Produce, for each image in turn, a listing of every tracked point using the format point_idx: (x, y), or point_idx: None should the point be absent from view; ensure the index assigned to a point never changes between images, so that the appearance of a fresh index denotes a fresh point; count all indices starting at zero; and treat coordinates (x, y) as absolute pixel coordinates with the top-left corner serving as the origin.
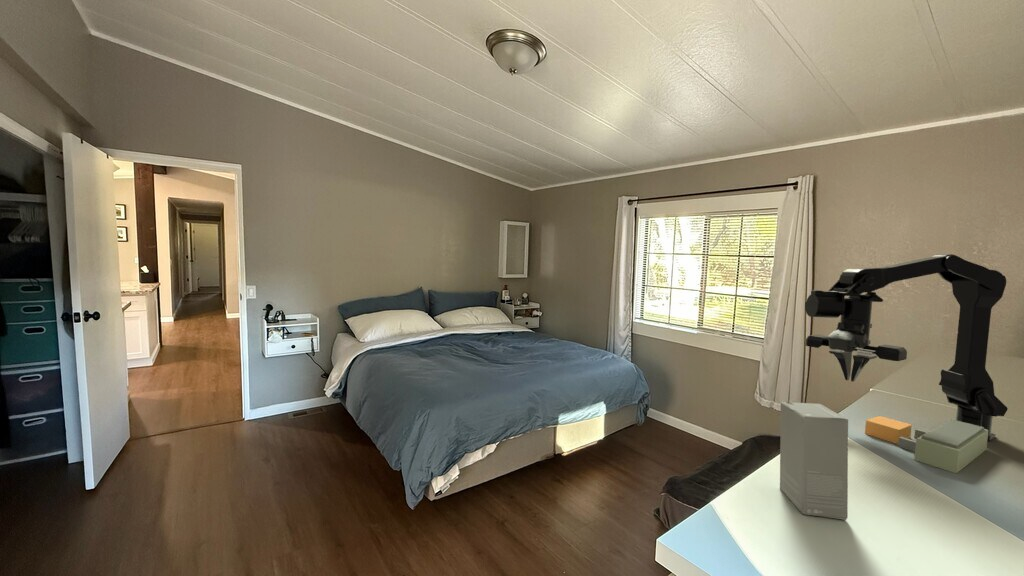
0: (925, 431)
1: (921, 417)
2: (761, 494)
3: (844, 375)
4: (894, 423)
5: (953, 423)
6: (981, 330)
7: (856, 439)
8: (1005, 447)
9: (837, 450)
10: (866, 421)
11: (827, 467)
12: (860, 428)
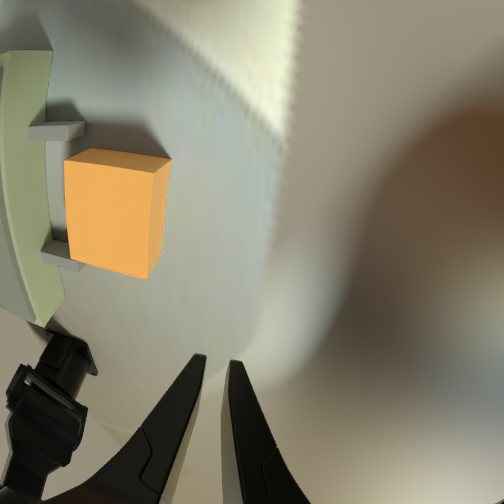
0: (62, 264)
1: (147, 390)
2: None
3: (248, 386)
4: (92, 227)
5: (13, 289)
6: None
7: (178, 62)
8: None
9: None
10: (153, 171)
11: None
12: (194, 207)
